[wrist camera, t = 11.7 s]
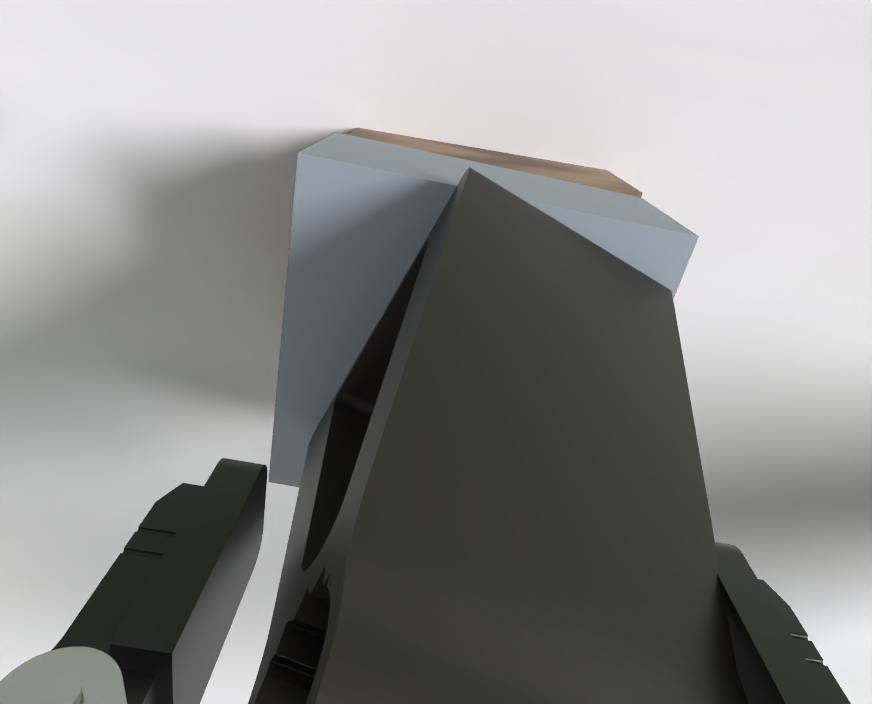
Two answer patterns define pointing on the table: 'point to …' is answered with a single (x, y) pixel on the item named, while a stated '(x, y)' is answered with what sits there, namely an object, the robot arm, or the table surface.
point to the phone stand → (506, 490)
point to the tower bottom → (508, 161)
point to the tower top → (407, 258)
